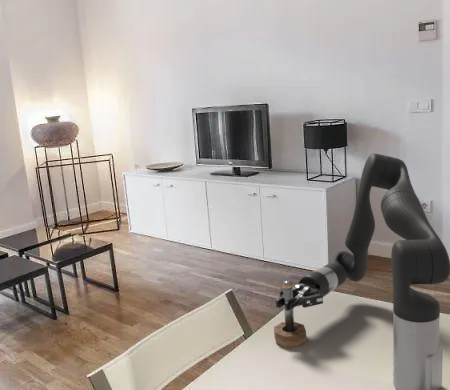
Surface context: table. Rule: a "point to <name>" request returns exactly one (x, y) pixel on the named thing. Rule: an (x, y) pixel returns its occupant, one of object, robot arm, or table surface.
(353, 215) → the robot arm
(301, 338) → the bead
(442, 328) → the table surface
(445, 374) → the table surface
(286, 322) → the banded metal pin
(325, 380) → the table surface
